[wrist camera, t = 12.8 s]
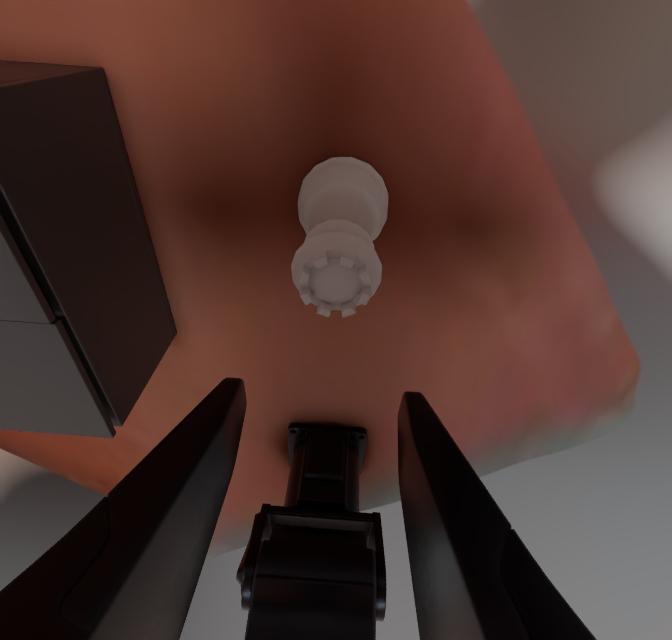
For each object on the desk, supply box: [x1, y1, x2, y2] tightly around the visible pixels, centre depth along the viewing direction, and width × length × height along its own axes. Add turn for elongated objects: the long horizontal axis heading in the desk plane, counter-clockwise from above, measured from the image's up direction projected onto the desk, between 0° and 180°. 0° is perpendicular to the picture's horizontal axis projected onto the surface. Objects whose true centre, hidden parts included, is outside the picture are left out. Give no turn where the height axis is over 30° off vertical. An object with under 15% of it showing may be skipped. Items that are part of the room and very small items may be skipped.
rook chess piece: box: [291, 157, 388, 318], centre depth 16 cm, size 4×4×8 cm
